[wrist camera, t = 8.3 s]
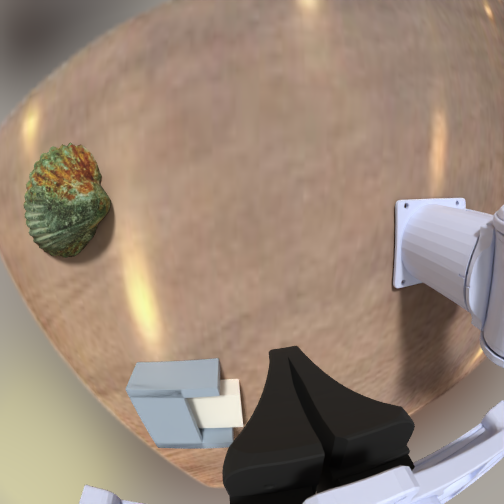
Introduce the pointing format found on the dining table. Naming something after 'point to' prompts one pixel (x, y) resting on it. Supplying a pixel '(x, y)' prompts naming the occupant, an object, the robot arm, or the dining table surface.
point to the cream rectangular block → (219, 407)
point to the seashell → (65, 200)
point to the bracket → (177, 402)
